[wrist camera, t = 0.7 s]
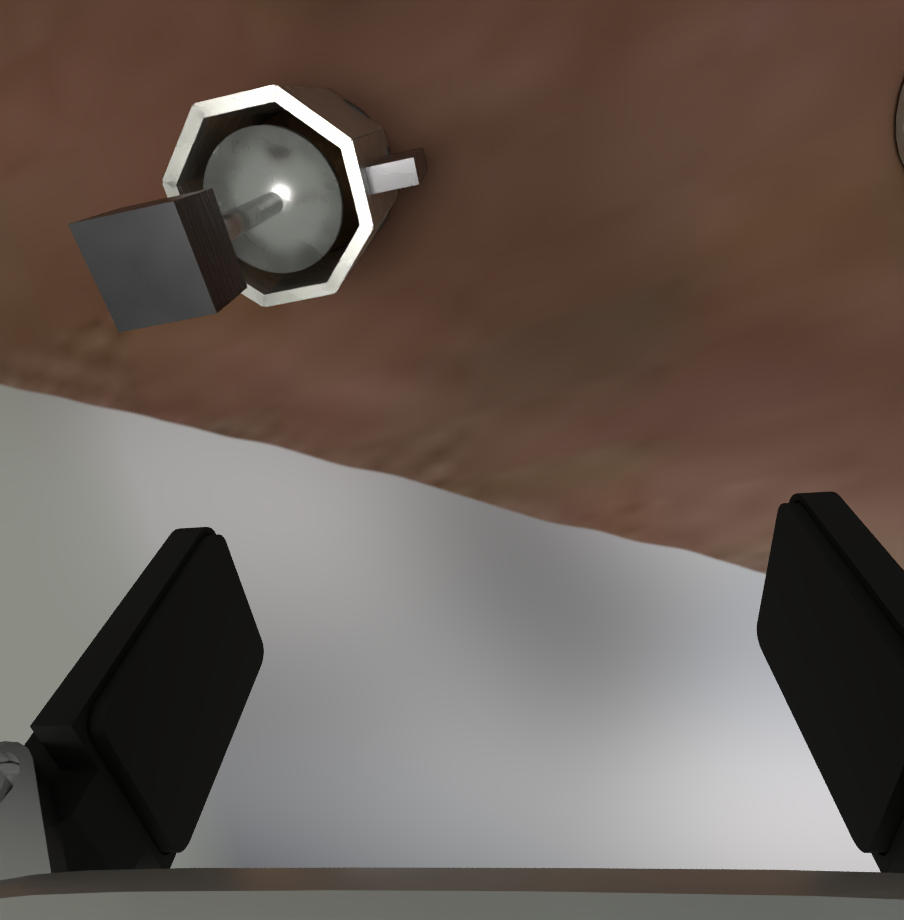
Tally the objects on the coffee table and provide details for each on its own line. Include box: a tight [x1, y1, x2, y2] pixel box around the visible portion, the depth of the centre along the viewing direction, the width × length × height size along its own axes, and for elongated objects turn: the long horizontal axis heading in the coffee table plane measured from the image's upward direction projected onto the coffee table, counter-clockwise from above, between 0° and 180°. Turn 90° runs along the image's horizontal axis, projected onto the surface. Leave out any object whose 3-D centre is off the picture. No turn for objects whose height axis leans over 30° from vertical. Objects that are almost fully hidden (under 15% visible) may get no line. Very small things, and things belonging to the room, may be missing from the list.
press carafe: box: [162, 85, 427, 307], centre depth 35 cm, size 12×9×12 cm
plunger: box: [68, 125, 344, 332], centre depth 24 cm, size 7×7×14 cm
